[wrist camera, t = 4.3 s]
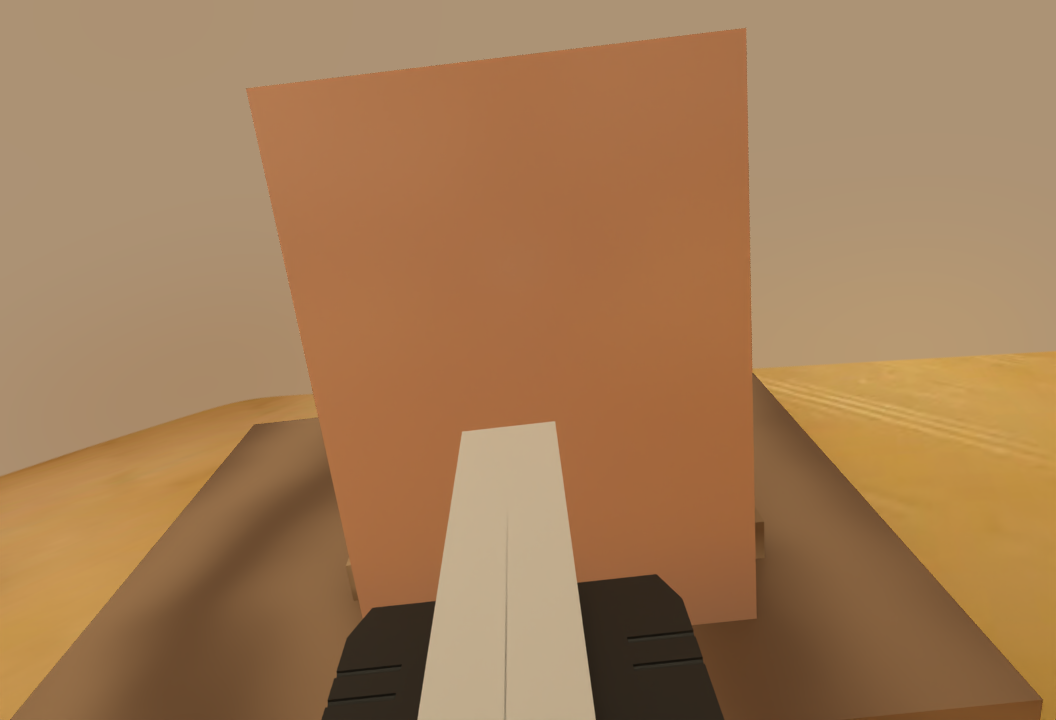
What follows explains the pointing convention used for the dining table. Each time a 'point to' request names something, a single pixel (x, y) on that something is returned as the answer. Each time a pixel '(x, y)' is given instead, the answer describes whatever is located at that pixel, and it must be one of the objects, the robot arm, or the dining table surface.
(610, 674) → the robot arm
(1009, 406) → the dining table surface
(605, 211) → the tile
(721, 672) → the board
